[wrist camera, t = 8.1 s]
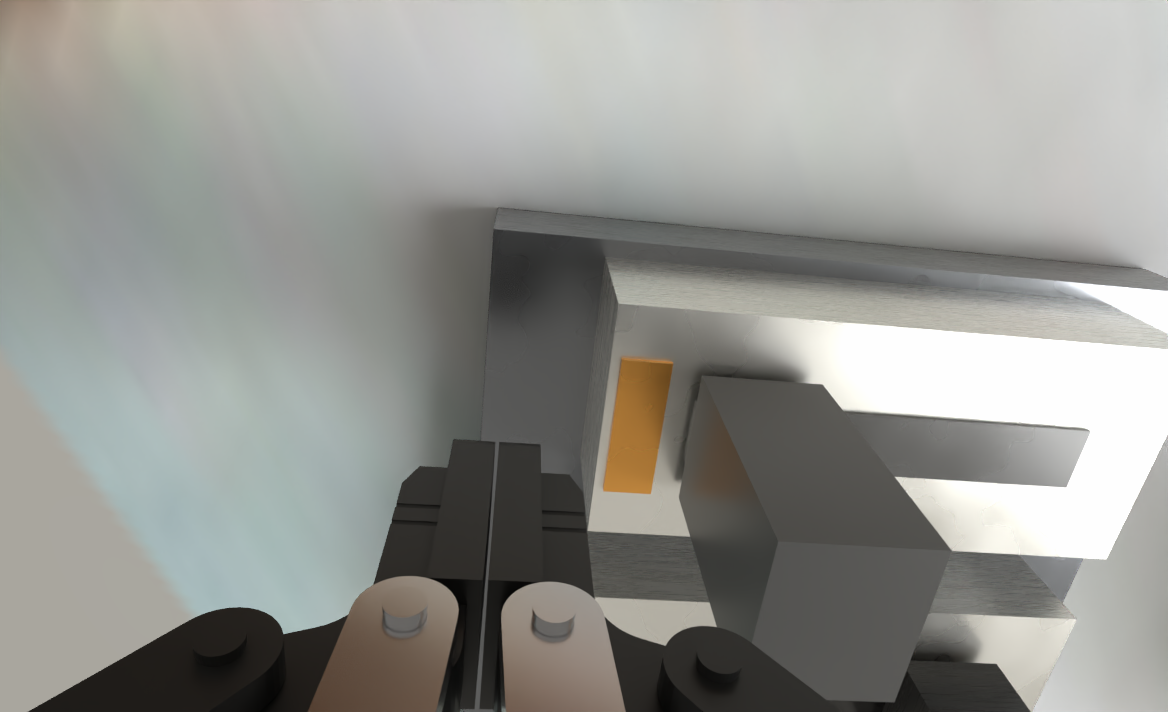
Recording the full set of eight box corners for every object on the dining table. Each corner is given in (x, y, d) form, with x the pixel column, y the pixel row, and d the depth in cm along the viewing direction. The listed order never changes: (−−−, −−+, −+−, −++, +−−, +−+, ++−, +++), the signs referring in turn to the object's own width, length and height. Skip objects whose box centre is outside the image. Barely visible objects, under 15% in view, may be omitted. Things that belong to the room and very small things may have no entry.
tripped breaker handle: (702, 375, 14) (778, 541, 10) (822, 384, 15) (952, 551, 10) (678, 497, 15) (737, 696, 11) (790, 504, 16) (894, 702, 11)
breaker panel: (497, 207, 18) (456, 410, 9) (1145, 269, 20) (1697, 497, 10) (462, 774, 26) (419, 1195, 17) (924, 784, 28) (1121, 1174, 18)
